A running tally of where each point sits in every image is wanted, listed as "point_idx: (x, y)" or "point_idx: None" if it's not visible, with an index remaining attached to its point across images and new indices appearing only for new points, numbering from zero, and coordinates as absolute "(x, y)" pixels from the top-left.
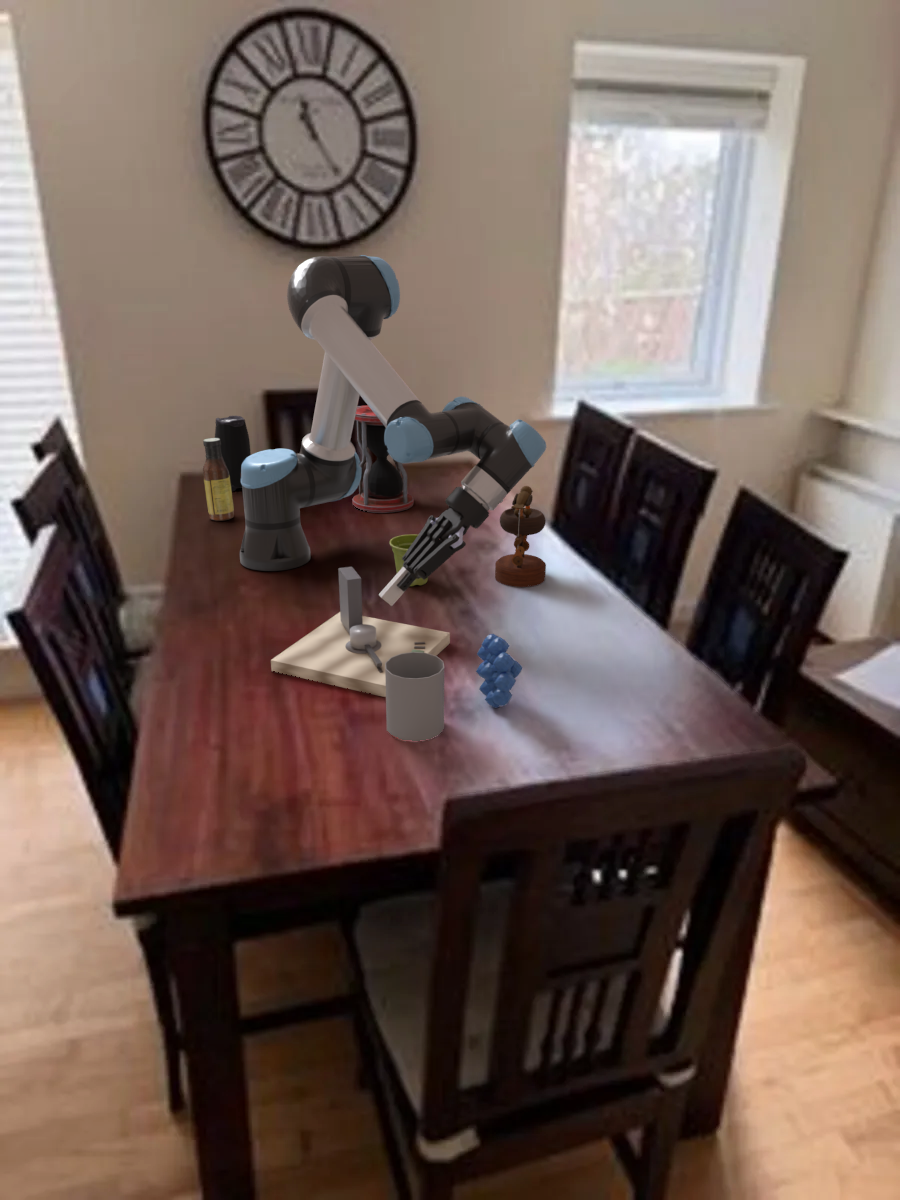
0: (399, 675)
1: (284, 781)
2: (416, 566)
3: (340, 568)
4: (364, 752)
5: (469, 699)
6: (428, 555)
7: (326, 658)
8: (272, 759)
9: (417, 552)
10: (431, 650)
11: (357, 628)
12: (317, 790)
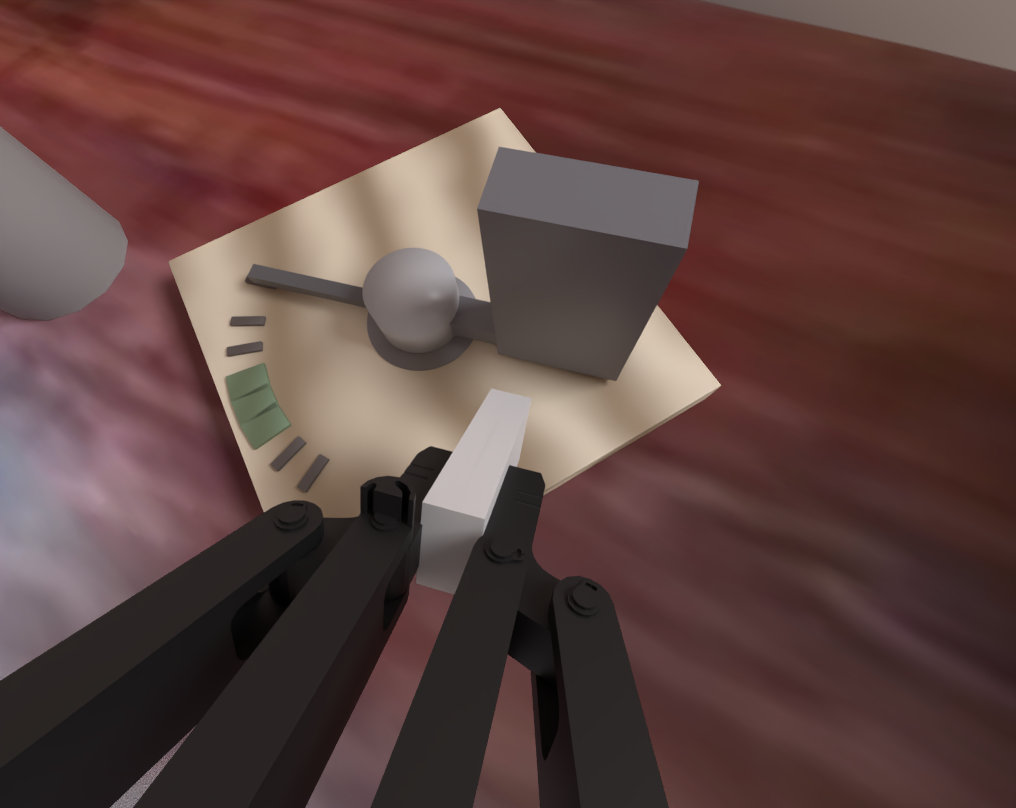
0: (5, 177)
1: (128, 32)
2: (300, 534)
3: (688, 187)
4: (82, 149)
5: (31, 435)
6: (147, 653)
7: (419, 207)
8: (195, 37)
9: (424, 677)
10: (253, 480)
11: (429, 277)
12: (66, 56)
